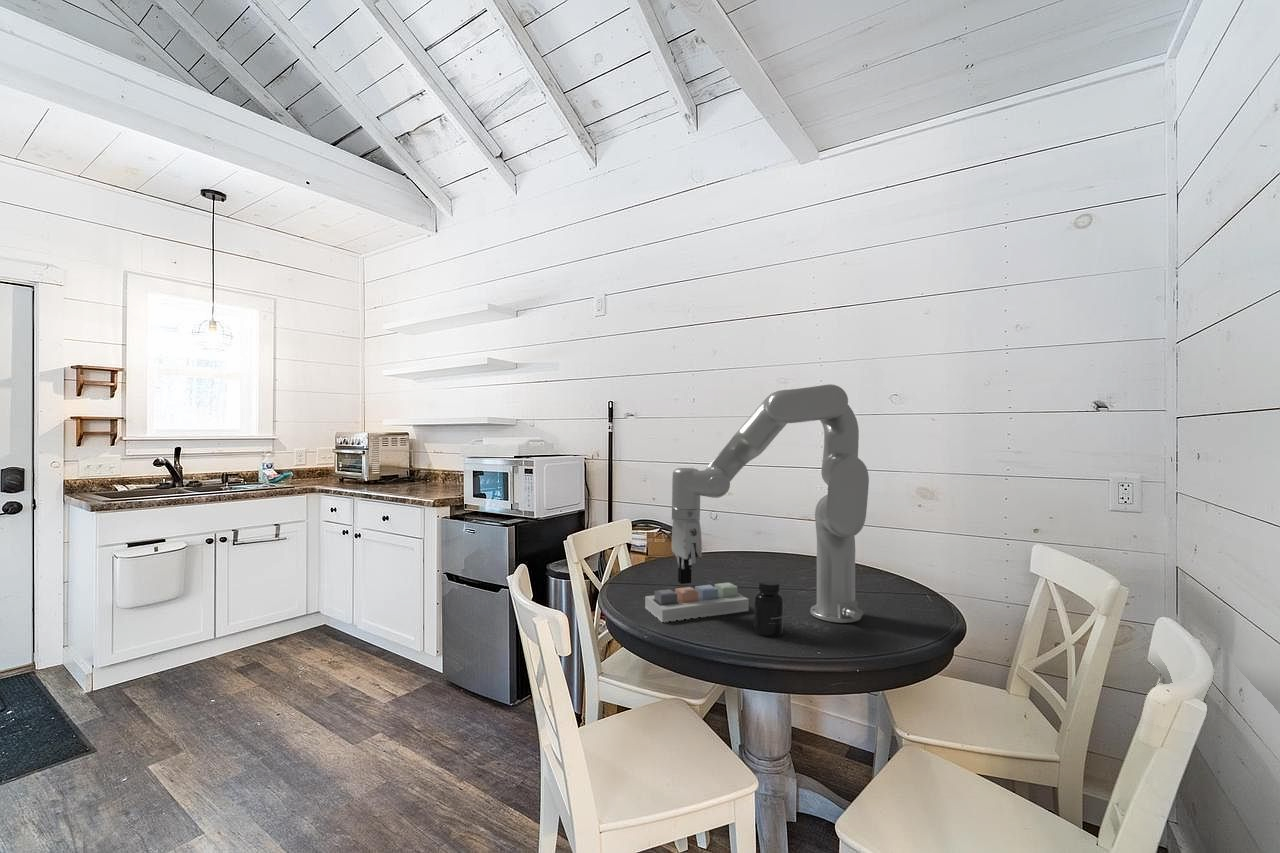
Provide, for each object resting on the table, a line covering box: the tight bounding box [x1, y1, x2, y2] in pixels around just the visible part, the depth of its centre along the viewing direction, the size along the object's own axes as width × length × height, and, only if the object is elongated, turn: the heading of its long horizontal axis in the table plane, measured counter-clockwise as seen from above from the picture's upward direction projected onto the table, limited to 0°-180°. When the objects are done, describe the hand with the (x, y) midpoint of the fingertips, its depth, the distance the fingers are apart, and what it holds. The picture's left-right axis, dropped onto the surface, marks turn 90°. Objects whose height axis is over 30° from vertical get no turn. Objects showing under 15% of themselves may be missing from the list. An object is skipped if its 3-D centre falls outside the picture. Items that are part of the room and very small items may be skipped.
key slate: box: [694, 584, 718, 601], centre depth 156 cm, size 5×5×3 cm
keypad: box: [644, 592, 750, 623], centre depth 155 cm, size 12×25×3 cm, turn 110°
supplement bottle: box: [753, 579, 784, 638], centre depth 138 cm, size 7×7×12 cm
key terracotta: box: [674, 586, 698, 603], centre depth 154 cm, size 5×5×3 cm
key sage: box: [714, 582, 739, 598], centre depth 158 cm, size 5×5×3 cm
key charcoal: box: [653, 588, 677, 606], centre depth 152 cm, size 5×5×3 cm
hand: (684, 582), depth 154 cm, fingers closed
